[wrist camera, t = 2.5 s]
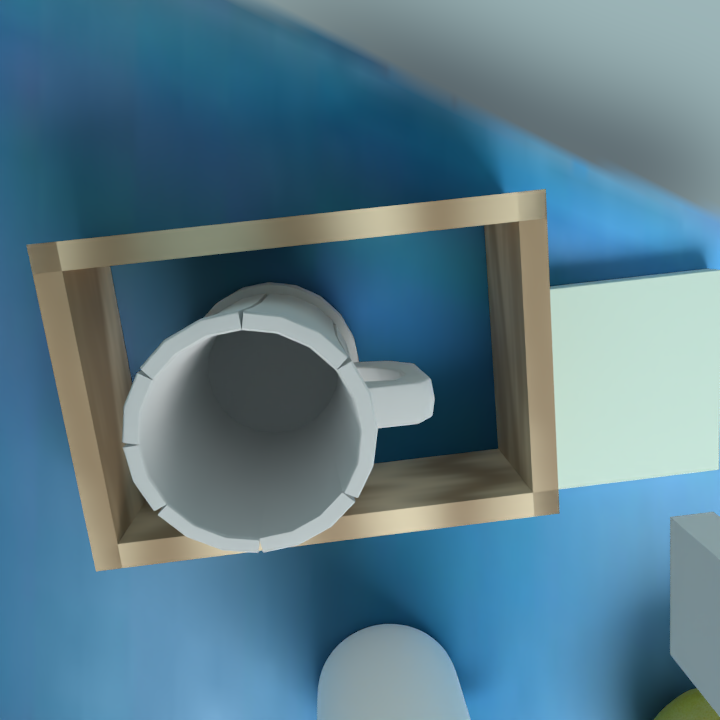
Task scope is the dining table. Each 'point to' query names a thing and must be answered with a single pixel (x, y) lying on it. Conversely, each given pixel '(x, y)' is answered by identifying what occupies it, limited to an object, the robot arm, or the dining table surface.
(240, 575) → the dining table surface
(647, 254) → the dining table surface
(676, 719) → the fruit
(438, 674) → the cup
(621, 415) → the mat
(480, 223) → the caddy
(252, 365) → the cup
